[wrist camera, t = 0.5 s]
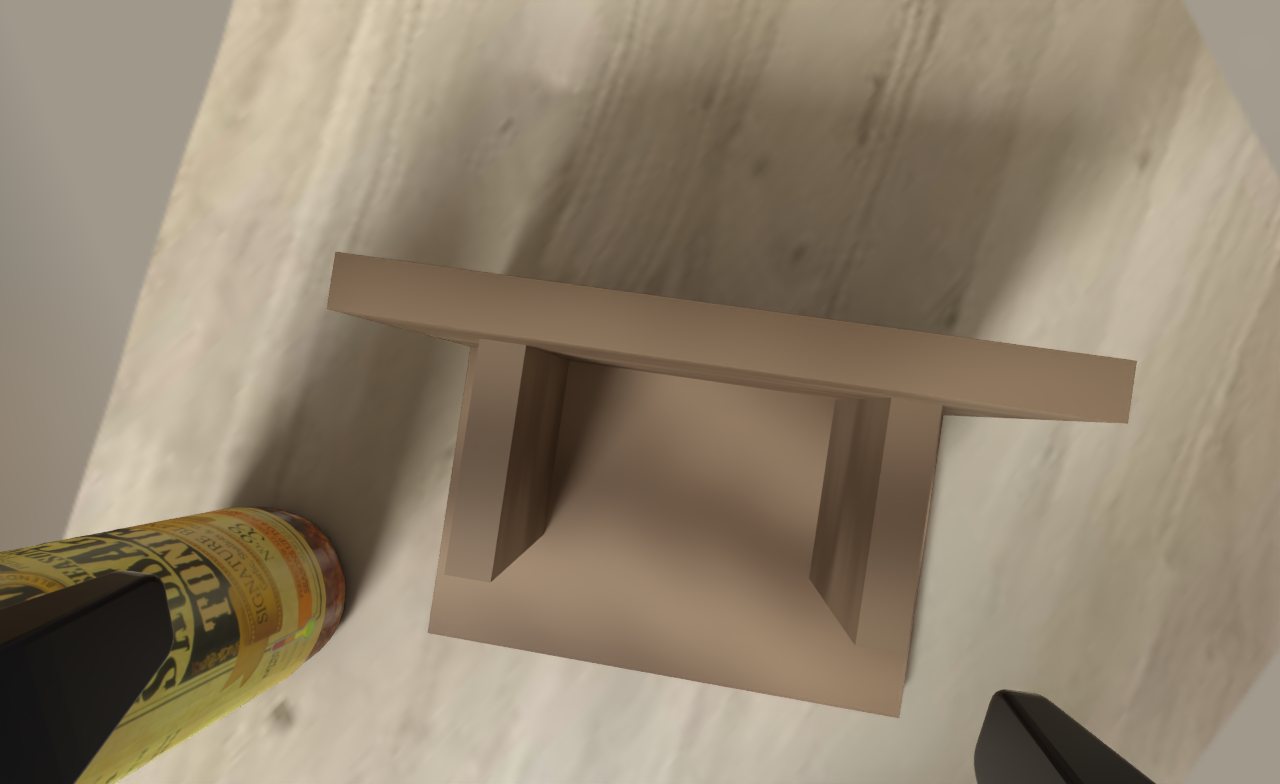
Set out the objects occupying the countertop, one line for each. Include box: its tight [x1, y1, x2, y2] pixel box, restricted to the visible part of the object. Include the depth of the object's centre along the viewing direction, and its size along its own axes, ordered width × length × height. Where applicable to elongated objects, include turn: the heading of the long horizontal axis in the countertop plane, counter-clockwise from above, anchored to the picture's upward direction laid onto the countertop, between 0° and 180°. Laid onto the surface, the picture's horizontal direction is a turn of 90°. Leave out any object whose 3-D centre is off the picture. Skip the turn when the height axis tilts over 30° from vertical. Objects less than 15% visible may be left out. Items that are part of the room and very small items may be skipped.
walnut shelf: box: [327, 252, 1137, 718], centre depth 18 cm, size 11×16×10 cm
